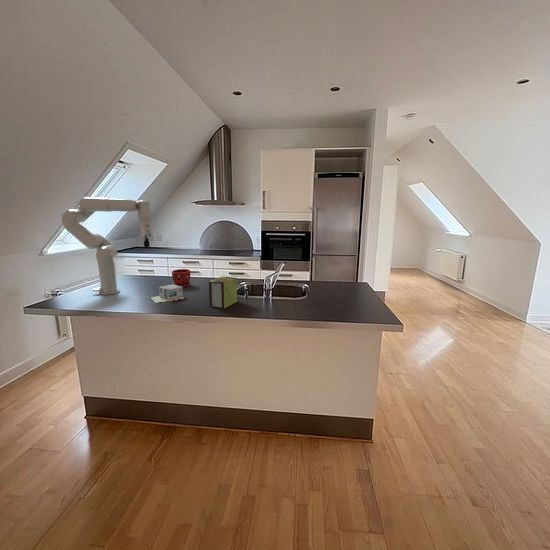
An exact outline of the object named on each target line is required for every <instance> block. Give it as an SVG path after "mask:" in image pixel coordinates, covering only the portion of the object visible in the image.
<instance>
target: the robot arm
mask: <svg viewBox="0 0 550 550" xmlns="http://www.w3.org/2000/svg"><path fill="white" fill-rule="evenodd" d="M78 205H79V206H78V207H77V208H76V209H72V208H71V209H67V210H65V211H64V212H63V213H62V215H61V224H62V225H63V228H64V229H65V230H66V231H67V232H68V233H70V234H71V235H72V236H73V237H74V238H76V239H77V240H78V241H79V242H80V243H81V244H82V245H84V246H85V247H86V248H88V249H90V250H96V253H95V257H96V260H97V261H96V262H97V265H98V266H97V267H98V273H99V275H98V276H99V282H100V286H99V287H95V288H92V292H95V293H96V292H98V295H100V296H101V295H102V296H107V295H109V296H110V295H115V294H118V293H120V292H121V290H120V289H119V288H118V284H117V276H116V274H117V273H116V265H115V261H114V258H115V257H117V255H118V249H117V248H116V246H114V245H113V244H112V243H111V242H110V241H108V240H107V238H105V237H104V236H103V235H101V234H98V233H92V232H91V231H90V230H89V229H88V228H86V227H85V226H84V225H82V224H81V223H83V222H86V220H87V219H89V218H90V217H91V216H92V215H93V214H95V212H107V213H109V212H127V213H128V212H129V213H130V212H132V213H133V212H137V217H138V218H137V219H138V223H140V235H141V237H142V238H143V247H144V248H150V247H151V246H150V237H151V238H152V237H153V234H152V226H151V222H152V217H151V216H152V215H151V203H150V201H149V200H134V199H127V198H126V199H122V198H121V199H119V198H110V197H109V198H108V197H87V196H86V197H82V198H80V200H79V202H78Z"/></svg>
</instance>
